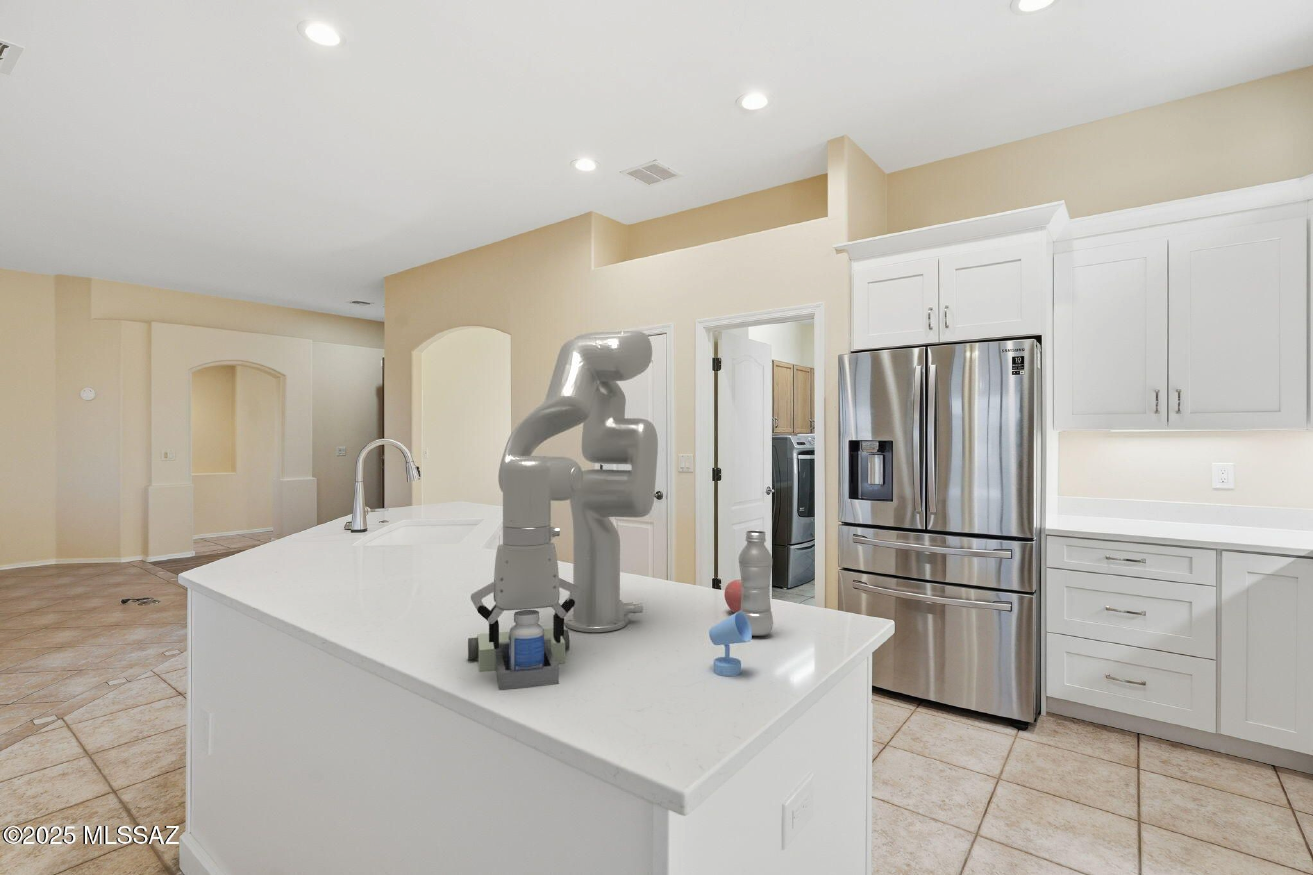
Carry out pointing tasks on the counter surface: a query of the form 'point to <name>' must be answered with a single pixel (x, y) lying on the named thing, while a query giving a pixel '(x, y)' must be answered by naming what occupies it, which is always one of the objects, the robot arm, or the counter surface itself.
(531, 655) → the pill bottle
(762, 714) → the counter surface
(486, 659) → the green block with knobs
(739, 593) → the apple
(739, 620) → the spotlight
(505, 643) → the gray square tray
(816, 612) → the counter surface
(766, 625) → the plastic bottle
